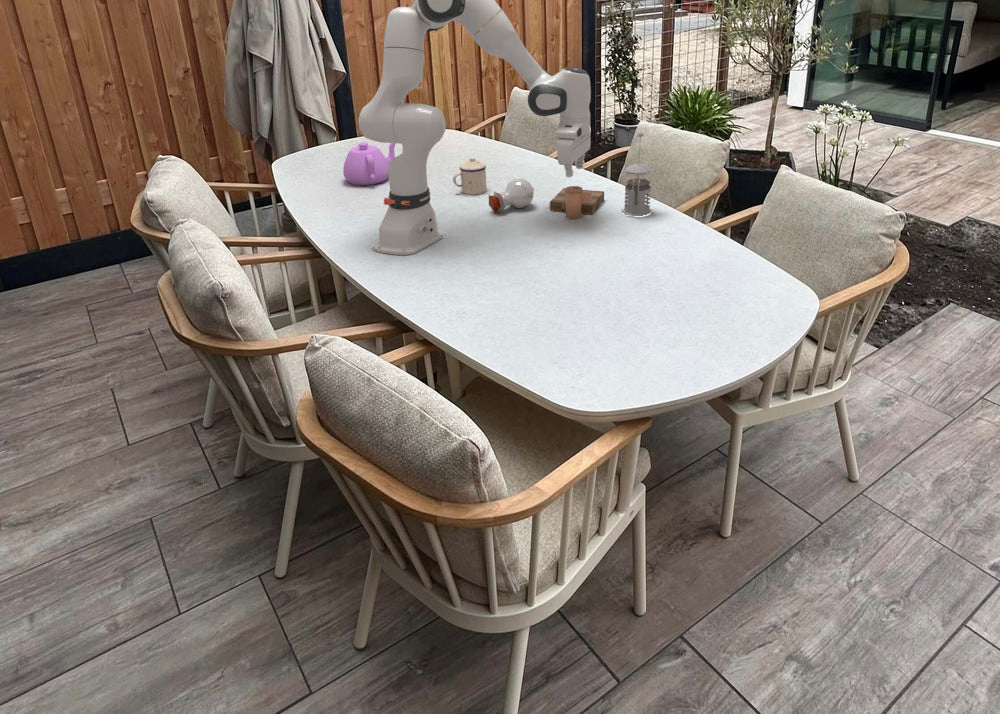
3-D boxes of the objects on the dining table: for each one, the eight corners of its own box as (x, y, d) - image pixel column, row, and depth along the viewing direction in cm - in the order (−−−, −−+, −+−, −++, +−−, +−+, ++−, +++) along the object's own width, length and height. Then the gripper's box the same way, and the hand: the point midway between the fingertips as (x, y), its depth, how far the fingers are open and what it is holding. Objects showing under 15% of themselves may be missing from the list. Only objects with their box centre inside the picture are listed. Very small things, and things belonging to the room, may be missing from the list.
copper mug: (562, 218, 239) (562, 190, 234) (568, 212, 243) (567, 185, 238) (588, 221, 236) (588, 192, 231) (592, 215, 240) (593, 187, 236)
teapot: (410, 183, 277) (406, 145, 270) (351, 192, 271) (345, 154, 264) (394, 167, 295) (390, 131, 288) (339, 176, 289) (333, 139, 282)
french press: (654, 207, 244) (658, 128, 231) (650, 220, 234) (654, 138, 221) (623, 206, 246) (626, 127, 233) (618, 218, 236) (620, 137, 224)
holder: (592, 214, 241) (592, 205, 239) (549, 210, 245) (549, 201, 244) (604, 200, 252) (604, 191, 250) (563, 196, 256) (563, 188, 255)
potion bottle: (536, 208, 252) (498, 223, 247) (520, 186, 255) (483, 201, 249) (543, 191, 244) (504, 206, 238) (527, 168, 247) (488, 183, 241)
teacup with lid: (481, 185, 271) (479, 152, 265) (491, 192, 264) (489, 159, 258) (449, 191, 267) (447, 158, 261) (459, 198, 260) (456, 164, 254)
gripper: (576, 117, 234) (575, 162, 241) (553, 133, 218) (553, 180, 225) (596, 118, 232) (595, 164, 238) (574, 134, 215) (573, 182, 222)
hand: (574, 172), depth 231 cm, fingers open, 8 cm apart
